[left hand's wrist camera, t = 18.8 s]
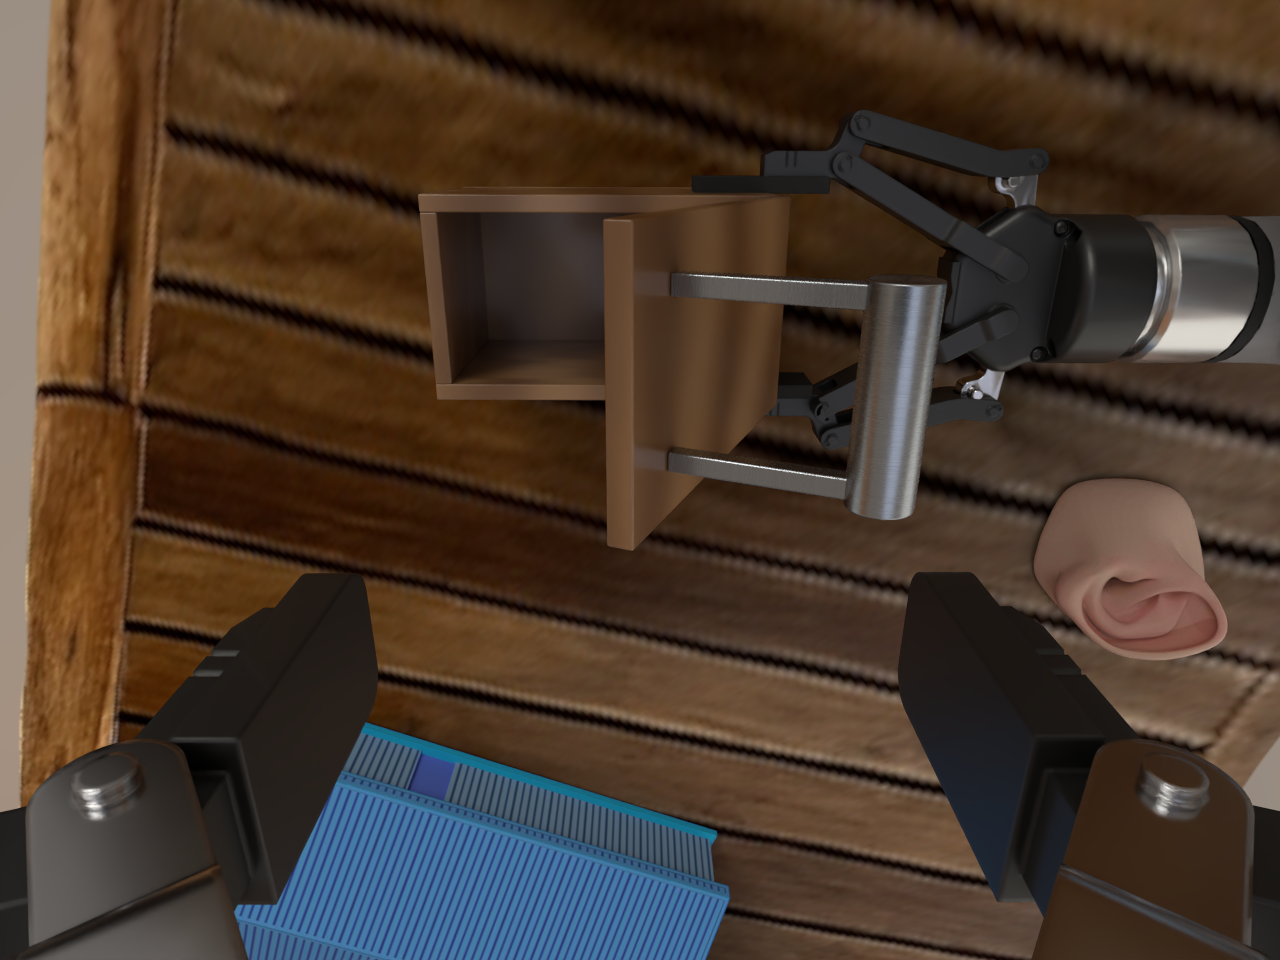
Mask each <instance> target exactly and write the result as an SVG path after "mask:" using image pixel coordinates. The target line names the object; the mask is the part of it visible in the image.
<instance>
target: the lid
mask: <svg viewBox="0 0 1280 960" xmlns="http://www.w3.org/2000/svg"><path fill="white" fill-rule="evenodd" d="M790 205H791V196H766V197H759V198H752V199H744V200H737V201H730V202H722V203H715V204H707V205H700V206H693V207H685V208H678V209H670V210H663V211H656V212H648V213H641V214H634V215H626V216H619V217H611V218H605V219H604V220H603V253H604V328H605V403H606V479H607V545H608V546H611V547H616V548H621V549H625V550H630V551H632V550H634V549H635V548H636V547H637V546H638V545H639V544H640V543H641V542H642V541H643V540H644V539H645V538H646V537H647V536H648V535H649V534H650V533H651V532H652V531H653V530H654V529H655V528H656V527H657V525H658V524H659V523H660V522H661V521H662V520H663V519H664V518H665V517H666V516H667V515H668V514H669V513H670V512H671V511H672V510H673V509H674V508H675V507H676V506H677V505H678V504H679V503H680V502H681V501H682V500H683V499H684V498H685V497H686V496H687V495H688V494H689V493H690V492H691V491H692V490H693V489H694V488H695V487H696V486H697V485H698V484H699V483H700V482H701V481H702V480H703V479H704V478H712V479H718V480H724V481H730V482H737V483H743V484H749V485H755V486H762V487H768V488H774V489H780V490H787V491H793V492H799V493H805V494H812V495H818V496H824V497H830V498H837V499H843V503H844V506H845V507H846V508H847V509H848V510H850V511H851V512H853V513H855V514H857V515H860V516H863V517H867V518H872V519H879V520H897V519H903V518H906V517H908V516H910V515H911V514H912V513H913V512H914V509H915V503H916V496H917V489H918V482H919V475H920V468H921V461H922V454H923V448H924V441H925V434H926V427H927V420H928V413H929V406H930V400H931V393H932V386H933V379H934V372H935V365H936V358H937V351H938V345H939V338H940V331H941V324H942V317H943V310H944V303H945V296H946V290H947V281H946V280H944V279H941V278H936V277H930V276H921V275H906V274H886V275H875V276H871V277H869V278H868V279H867V281H857V280H840V279H822V278H805V277H788V276H786V262H787V248H788V234H789V220H790ZM783 305H797V306H811V307H825V308H839V309H853V310H864V313H863V322H862V331H861V340H860V349H859V359H858V368H857V377H856V386H855V396H854V405H853V414H852V423H851V433H850V442H849V451H848V460H847V470H846V471H840V470H833V469H826V468H819V467H813V466H806V465H799V464H792V463H785V462H778V461H772V460H765V459H758V458H751V457H744V456H738V455H731V454H728V453H729V452H730V451H731V450H732V449H733V448H734V447H735V446H736V445H737V444H738V443H739V442H740V441H741V440H742V439H743V438H744V437H745V436H746V435H747V434H748V433H749V432H750V431H751V430H752V429H753V428H754V427H755V426H756V425H757V424H758V422H759V421H760V420H761V419H762V418H763V417H764V416H765V415H766V414H767V413H768V412H769V411H770V410H771V409H772V408H773V407H774V406H775V405H776V404H777V390H778V376H779V361H780V347H781V333H782V319H783Z"/></svg>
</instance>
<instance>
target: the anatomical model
mask: <svg viewBox="0 0 1280 960" xmlns="http://www.w3.org/2000/svg"><path fill="white" fill-rule="evenodd" d="M1033 566H1034V573H1035V576H1036V578H1037V580H1038V582H1039V583H1040V585H1041V586H1042V588H1043V589H1044V590H1045V592H1046V593H1047V594H1048V595H1049V597H1050V598H1051V599H1052V600H1053V601H1054V602H1055V604H1056V605H1057V606H1058V607H1059V608H1060V609H1061V610H1062V611H1063V612H1064V613H1065V614H1066V615H1068V616H1069V617H1070V618H1071V619H1072V620H1073V621H1074V622H1075V624H1076V625H1077V626H1078V627H1079V628H1080V629H1081V630H1082V631H1083V633H1084V634H1085V635H1087V636H1088V637H1089V638H1090V639H1091V640H1092V641H1093V642H1094V643H1096V644H1097V645H1099V646H1100V647H1102V648H1103V649H1105V650H1107V651H1109V652H1112V653H1114V654H1117V655H1120V656H1124V657H1129V658H1134V659H1142V660H1168V659H1176V658H1181V657H1186V656H1189V655H1193V654H1197V653H1200V652H1203V651H1205V650H1208V649H1210V648H1212V647H1214V646H1216V645H1217V644H1218V643H1220V642H1221V641H1222V640H1223V638H1224V637H1225V635H1226V632H1227V619H1226V615H1225V613H1224V610H1223V608H1222V606H1221V604H1220V602H1219V600H1218V599H1217V597H1216V595H1215V594H1214V592H1213V591H1212V590H1211V588H1210V587H1209V586H1208V584H1207V583H1206V582H1205V577H1204V565H1203V558H1202V552H1201V546H1200V541H1199V537H1198V532H1197V528H1196V525H1195V521H1194V518H1193V515H1192V513H1191V510H1190V508H1189V506H1188V504H1187V503H1186V501H1185V499H1184V498H1183V497H1182V496H1181V495H1180V494H1179V493H1178V492H1176V491H1175V490H1173V489H1172V488H1170V487H1168V486H1165V485H1163V484H1159V483H1155V482H1151V481H1146V480H1139V479H1123V478H1110V479H1095V480H1088V481H1083V482H1080V483H1077V484H1075V485H1073V486H1071V487H1070V488H1068V489H1067V490H1066V491H1065V492H1064V493H1063V494H1062V495H1061V496H1060V498H1059V499H1058V501H1057V502H1056V504H1055V506H1054V508H1053V509H1052V511H1051V513H1050V516H1049V518H1048V520H1047V522H1046V524H1045V527H1044V529H1043V531H1042V533H1041V536H1040V539H1039V542H1038V546H1037V550H1036V553H1035V557H1034V565H1033Z"/></svg>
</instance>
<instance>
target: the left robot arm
mask: <svg viewBox="0 0 1280 960" xmlns="http://www.w3.org/2000/svg"><path fill="white" fill-rule="evenodd" d="M898 682H899V690H900V696H901V700H902V703H903V706H904V709H905V711H906V713H907V715H908V717H909V719H910V721H911V724H912V726H913V728H914V730H915V732H916V734H917V736H918V738H919V740H920V742H921V744H922V746H923V748H924V750H925V753H926V755H927V757H928V759H929V761H930V763H931V765H932V767H933V769H934V771H935V773H936V775H937V777H938V779H939V782H940V784H941V786H942V788H943V790H944V792H945V794H946V796H947V798H948V800H949V802H950V804H951V806H952V809H953V811H954V813H955V815H956V817H957V819H958V821H959V823H960V825H961V827H962V829H963V831H964V833H965V835H966V838H967V840H968V842H969V844H970V846H971V848H972V850H973V852H974V854H975V856H976V858H977V860H978V862H979V864H980V867H981V869H982V871H983V873H984V875H985V877H986V879H987V881H988V883H989V885H990V887H991V889H992V891H993V894H994V896H995V898H996V900H997V902H1036V903H1037V905H1038V907H1039V909H1040V911H1041V913H1042V915H1043V917H1044V920H1043V923H1042V926H1041V929H1040V933H1039V936H1038V939H1037V943H1036V946H1035V949H1034V953H1033V956H1032V959H1031V960H1280V811H1276V810H1272V809H1267V808H1262V807H1258V806H1254V805H1252V803H1251V801H1250V799H1249V797H1248V796H1247V794H1246V793H1245V791H1244V790H1243V789H1242V788H1241V787H1240V786H1239V785H1238V783H1237V782H1236V781H1234V780H1233V779H1232V778H1231V777H1230V776H1229V775H1228V774H1226V773H1225V772H1224V771H1222V770H1221V769H1219V768H1218V767H1216V766H1215V765H1213V764H1212V763H1210V762H1208V761H1206V760H1205V759H1203V758H1201V757H1199V756H1197V755H1195V754H1193V753H1191V752H1188V751H1186V750H1183V749H1181V748H1178V747H1175V746H1172V745H1169V744H1165V743H1161V742H1157V741H1152V740H1145V739H1140V737H1139V736H1138V735H1137V734H1136V733H1135V732H1134V731H1133V729H1132V728H1131V727H1130V726H1129V725H1128V724H1127V722H1126V721H1125V720H1124V719H1123V718H1122V717H1121V716H1120V714H1119V713H1118V712H1117V711H1116V710H1115V709H1114V707H1113V706H1112V705H1111V704H1110V703H1109V702H1108V701H1107V699H1106V698H1105V697H1104V696H1103V695H1102V694H1101V692H1100V691H1099V690H1098V689H1097V688H1096V687H1095V685H1094V684H1093V683H1092V682H1091V681H1090V680H1089V679H1088V677H1087V676H1086V675H1081V669H1080V668H1079V667H1078V666H1077V665H1076V664H1075V662H1074V661H1073V660H1072V659H1071V658H1070V657H1069V655H1064V650H1063V649H1062V647H1061V646H1060V645H1059V644H1058V643H1057V642H1056V640H1055V639H1054V638H1053V637H1052V636H1051V635H1050V634H1049V632H1048V631H1047V630H1046V629H1045V628H1044V627H1043V626H1042V625H1040V624H1039V623H1037V622H1035V621H1034V620H1032V619H1031V618H1029V617H1027V616H1026V615H1024V614H1023V613H1021V612H1019V611H1018V610H1016V609H1015V608H1013V607H1011V606H999V604H998V603H997V602H996V601H995V600H994V598H993V597H992V596H991V595H990V593H989V592H988V591H987V590H986V588H985V587H984V586H983V585H982V583H981V582H980V581H979V580H978V578H977V577H976V576H975V575H974V574H972V573H970V572H918V573H916V574H915V575H914V577H913V579H912V581H911V584H910V589H909V595H908V602H907V609H906V616H905V623H904V630H903V637H902V644H901V650H900V657H899V665H898ZM377 683H378V666H377V659H376V652H375V645H374V638H373V632H372V625H371V618H370V611H369V605H368V598H367V591H366V586H365V583H364V580H363V578H362V577H361V576H360V575H359V574H357V573H307V574H303V575H302V576H301V577H300V578H299V579H298V580H297V581H296V583H295V584H294V585H293V586H292V588H291V589H290V590H289V591H288V592H287V594H286V595H285V596H284V597H283V599H282V600H281V601H280V602H279V603H278V605H277V606H276V607H275V608H263V609H261V610H260V611H258V612H256V613H255V614H253V615H252V616H250V617H248V618H247V619H245V620H244V621H242V622H240V623H239V624H237V625H236V626H234V627H232V628H231V629H230V630H229V631H228V633H227V634H226V635H225V636H224V637H223V638H222V639H221V641H220V642H219V643H218V644H217V645H216V646H215V647H214V649H213V650H212V651H211V656H210V657H206V658H205V659H204V660H203V661H202V662H201V664H200V665H199V666H198V667H197V668H196V669H195V670H194V674H193V677H188V678H187V680H186V681H185V682H184V683H183V684H182V685H181V686H180V688H179V689H178V690H177V691H176V692H175V693H174V694H173V696H172V697H171V698H170V699H169V700H168V701H167V702H166V704H165V705H164V706H163V707H162V708H161V709H160V710H159V712H158V713H157V714H156V715H155V716H154V717H153V718H152V720H151V721H150V722H149V723H148V724H147V725H146V726H145V728H144V729H143V730H142V731H141V732H140V733H139V734H138V736H137V737H136V738H135V739H134V740H128V741H123V742H119V743H115V744H111V745H108V746H105V747H102V748H99V749H97V750H94V751H92V752H89V753H87V754H85V755H83V756H81V757H79V758H77V759H75V760H74V761H72V762H70V763H68V764H67V765H65V766H64V767H62V768H61V769H59V770H58V771H56V772H55V773H54V774H52V775H51V776H50V777H49V778H48V779H47V780H46V781H44V782H43V783H42V785H41V786H40V787H39V788H38V789H37V790H36V791H35V793H34V794H33V796H32V797H31V799H30V801H29V803H28V805H27V806H26V807H22V808H18V809H14V810H9V811H4V812H0V960H249V959H248V956H247V953H246V949H245V946H244V943H243V939H242V936H241V933H240V929H239V926H238V923H237V920H236V916H235V913H234V911H235V909H236V908H237V906H238V905H277V903H278V901H279V899H280V897H281V895H282V893H283V891H284V889H285V886H286V884H287V882H288V880H289V878H290V876H291V874H292V872H293V870H294V868H295V866H296V864H297V862H298V860H299V858H300V856H301V854H302V852H303V850H304V848H305V846H306V843H307V841H308V839H309V837H310V835H311V833H312V831H313V829H314V827H315V825H316V823H317V821H318V819H319V817H320V815H321V813H322V811H323V809H324V807H325V805H326V803H327V800H328V798H329V796H330V794H331V792H332V790H333V788H334V786H335V784H336V782H337V780H338V778H339V776H340V774H341V772H342V770H343V768H344V766H345V764H346V762H347V760H348V757H349V755H350V753H351V751H352V749H353V747H354V745H355V743H356V741H357V739H358V737H359V735H360V733H361V731H362V729H363V727H364V725H365V723H366V721H367V719H368V717H369V714H370V712H371V710H372V708H373V705H374V701H375V697H376V692H377Z"/></svg>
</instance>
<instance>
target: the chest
mask: <svg viewBox="0 0 1280 960" xmlns="http://www.w3.org/2000/svg"><path fill="white" fill-rule="evenodd" d="M766 196H779V195H775V194H771V193H695V192H693V191H692V187H473V186H467V187H463V188H456V189H449V190H443V191H436V192H429V193H422V194H418V200H419V210H420V212H421V213H420V221H421V232H422V242H423V253H424V263H425V274H426V284H427V295H428V305H429V316H430V326H431V336H432V347H433V357H434V368H435V378H436V390H437V399H438V400H605V328H604V253H603V220H604V219H605V218H611V217H619V216H626V215H634V214H641V213H648V212H656V211H663V210H670V209H678V208H685V207H693V206H700V205H707V204H715V203H722V202H730V201H737V200H744V199H752V198H759V197H766Z"/></svg>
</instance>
